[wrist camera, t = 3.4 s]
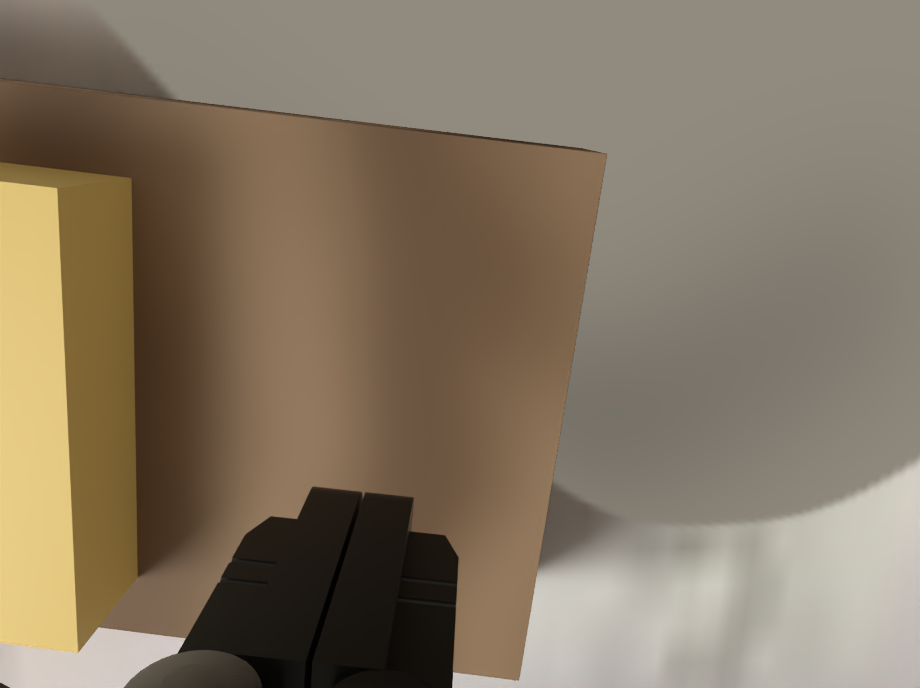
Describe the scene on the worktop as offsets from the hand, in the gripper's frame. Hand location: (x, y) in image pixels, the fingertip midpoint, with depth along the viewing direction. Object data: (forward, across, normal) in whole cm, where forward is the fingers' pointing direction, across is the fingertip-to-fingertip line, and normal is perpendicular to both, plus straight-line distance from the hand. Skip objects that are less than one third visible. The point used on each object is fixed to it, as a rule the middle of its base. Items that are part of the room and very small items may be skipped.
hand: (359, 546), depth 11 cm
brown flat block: (+9, +6, 0) cm, 11 cm away
